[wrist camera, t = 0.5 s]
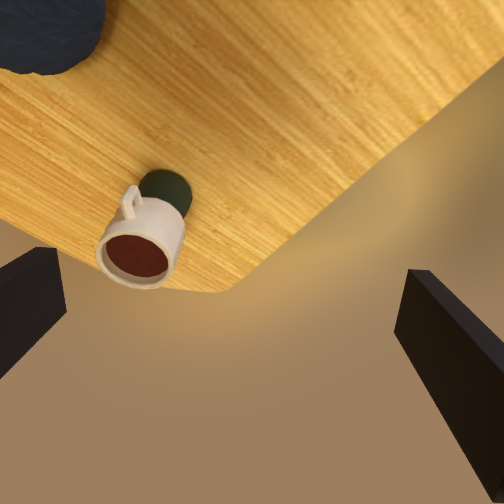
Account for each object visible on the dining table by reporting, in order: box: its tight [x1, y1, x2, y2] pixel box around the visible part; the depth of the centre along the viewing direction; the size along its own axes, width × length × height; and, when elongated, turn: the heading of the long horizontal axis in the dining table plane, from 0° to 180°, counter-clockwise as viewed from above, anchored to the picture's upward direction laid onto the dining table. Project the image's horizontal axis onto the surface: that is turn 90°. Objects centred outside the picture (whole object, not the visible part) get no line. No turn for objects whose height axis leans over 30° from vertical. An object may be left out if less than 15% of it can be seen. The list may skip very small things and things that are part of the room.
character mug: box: [95, 171, 192, 290], centre depth 37 cm, size 11×7×13 cm, turn 5°
